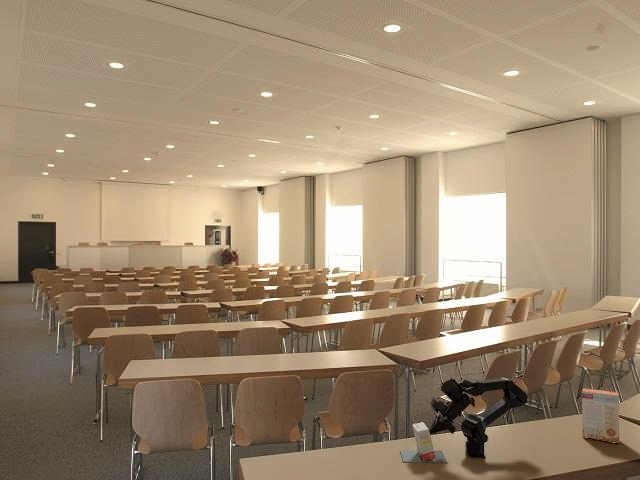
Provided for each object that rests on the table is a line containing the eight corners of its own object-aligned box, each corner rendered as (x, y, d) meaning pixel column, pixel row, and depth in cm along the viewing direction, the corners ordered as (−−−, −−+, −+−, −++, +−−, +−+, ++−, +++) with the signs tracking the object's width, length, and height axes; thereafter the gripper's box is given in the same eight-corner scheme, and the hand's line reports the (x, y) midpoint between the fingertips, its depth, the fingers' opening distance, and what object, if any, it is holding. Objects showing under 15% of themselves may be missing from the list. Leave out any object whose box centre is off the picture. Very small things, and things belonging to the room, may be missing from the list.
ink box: (436, 458, 195) (429, 428, 195) (424, 461, 195) (417, 432, 195) (429, 449, 204) (423, 421, 204) (417, 452, 203) (411, 424, 203)
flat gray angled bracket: (442, 451, 204) (442, 450, 204) (447, 463, 193) (447, 462, 193) (400, 450, 205) (400, 449, 205) (403, 462, 194) (403, 461, 194)
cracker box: (619, 440, 217) (619, 392, 217) (619, 445, 212) (618, 395, 212) (583, 433, 224) (583, 387, 224) (582, 438, 219) (581, 390, 219)
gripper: (438, 385, 208) (411, 410, 209) (447, 398, 190) (418, 426, 190) (456, 404, 208) (429, 430, 208) (468, 419, 189) (438, 448, 190)
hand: (428, 433), depth 199 cm, fingers closed
